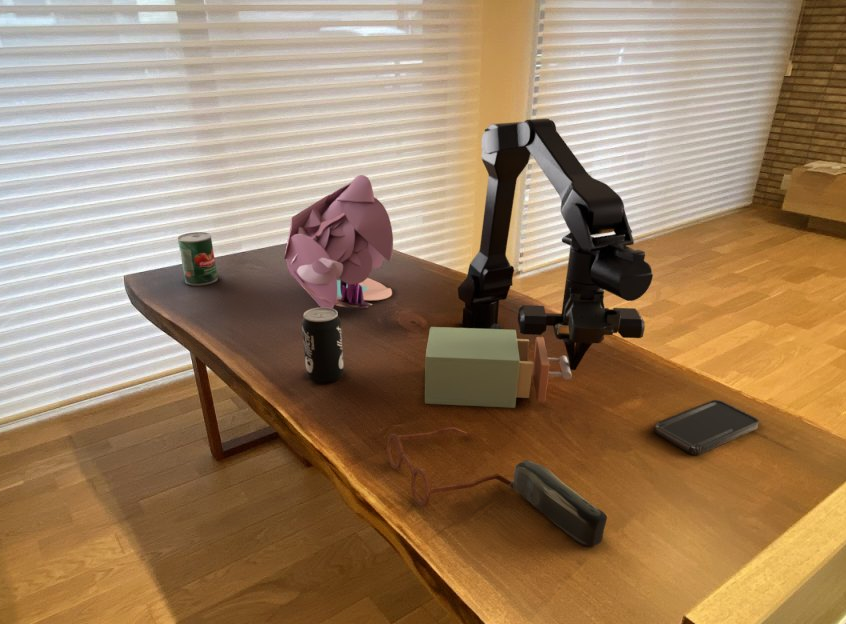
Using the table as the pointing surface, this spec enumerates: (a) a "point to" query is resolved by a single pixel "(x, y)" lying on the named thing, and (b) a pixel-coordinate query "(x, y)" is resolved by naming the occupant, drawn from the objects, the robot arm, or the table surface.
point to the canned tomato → (197, 258)
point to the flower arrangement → (341, 246)
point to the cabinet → (471, 367)
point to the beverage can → (323, 345)
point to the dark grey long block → (559, 503)
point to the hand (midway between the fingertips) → (572, 368)
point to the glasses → (419, 470)
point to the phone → (706, 426)
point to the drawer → (537, 369)
